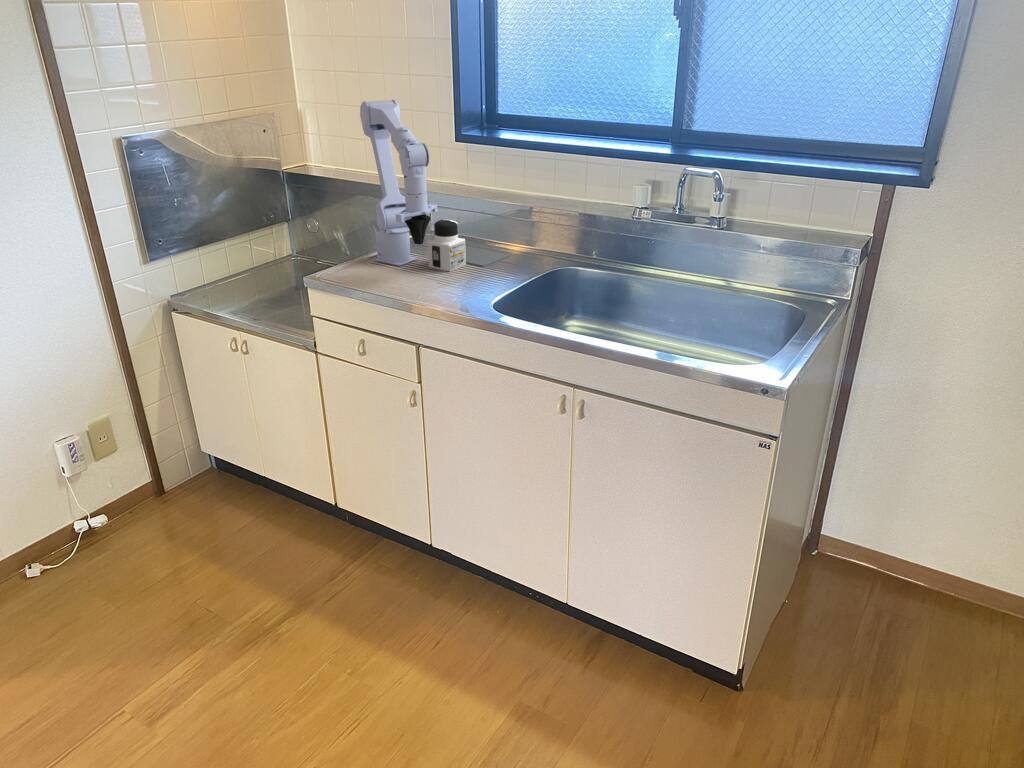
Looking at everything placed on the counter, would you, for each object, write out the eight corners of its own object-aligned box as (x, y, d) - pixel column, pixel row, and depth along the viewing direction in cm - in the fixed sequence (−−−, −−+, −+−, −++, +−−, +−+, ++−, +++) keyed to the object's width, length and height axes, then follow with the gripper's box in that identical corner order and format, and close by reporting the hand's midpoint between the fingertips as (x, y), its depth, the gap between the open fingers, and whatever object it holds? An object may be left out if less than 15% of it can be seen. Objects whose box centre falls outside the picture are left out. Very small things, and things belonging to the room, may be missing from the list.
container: (450, 272, 215) (448, 226, 210) (428, 267, 219) (426, 222, 213) (466, 265, 221) (465, 220, 215) (445, 260, 225) (443, 216, 219)
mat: (434, 256, 229) (434, 255, 228) (461, 246, 238) (461, 245, 238) (484, 267, 219) (483, 265, 219) (509, 256, 229) (509, 254, 229)
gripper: (409, 199, 194) (412, 252, 200) (445, 189, 205) (447, 239, 210) (388, 196, 197) (391, 247, 203) (424, 186, 208) (427, 235, 214)
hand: (418, 243), depth 207 cm, fingers closed
